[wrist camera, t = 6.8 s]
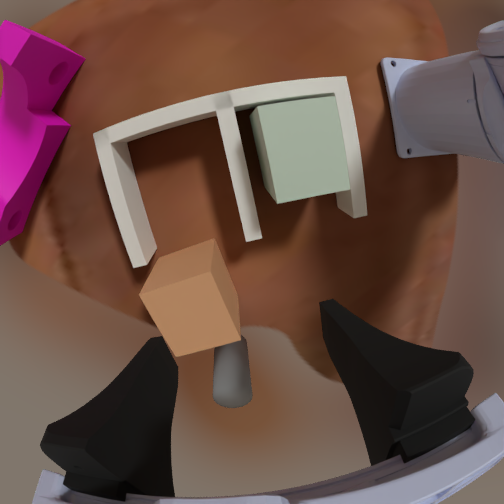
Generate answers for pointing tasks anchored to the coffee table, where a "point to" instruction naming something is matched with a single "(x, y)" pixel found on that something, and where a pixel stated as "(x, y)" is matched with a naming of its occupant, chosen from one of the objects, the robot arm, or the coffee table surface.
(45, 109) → the toy block
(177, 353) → the handled block
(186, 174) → the coffee table surface
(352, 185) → the rack
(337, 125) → the green block
